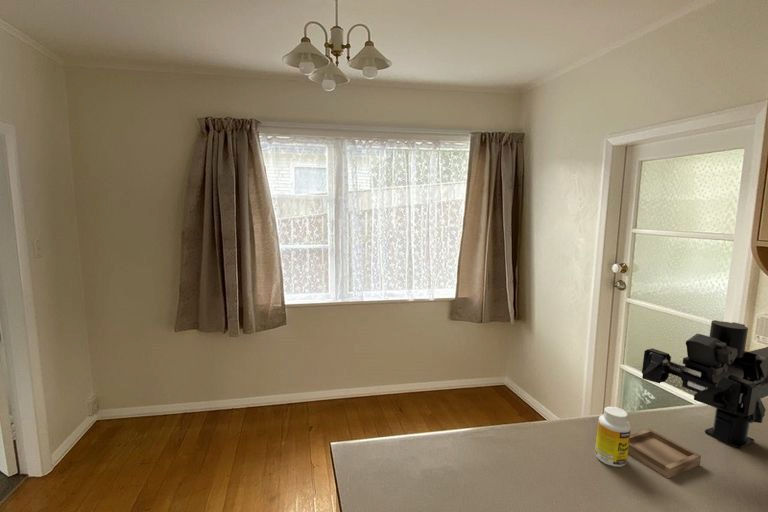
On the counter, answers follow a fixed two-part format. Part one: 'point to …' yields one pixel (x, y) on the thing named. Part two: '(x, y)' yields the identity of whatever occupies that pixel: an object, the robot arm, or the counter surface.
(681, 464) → the walnut tray
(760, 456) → the counter surface
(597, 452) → the supplement bottle
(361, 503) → the counter surface
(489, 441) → the counter surface
